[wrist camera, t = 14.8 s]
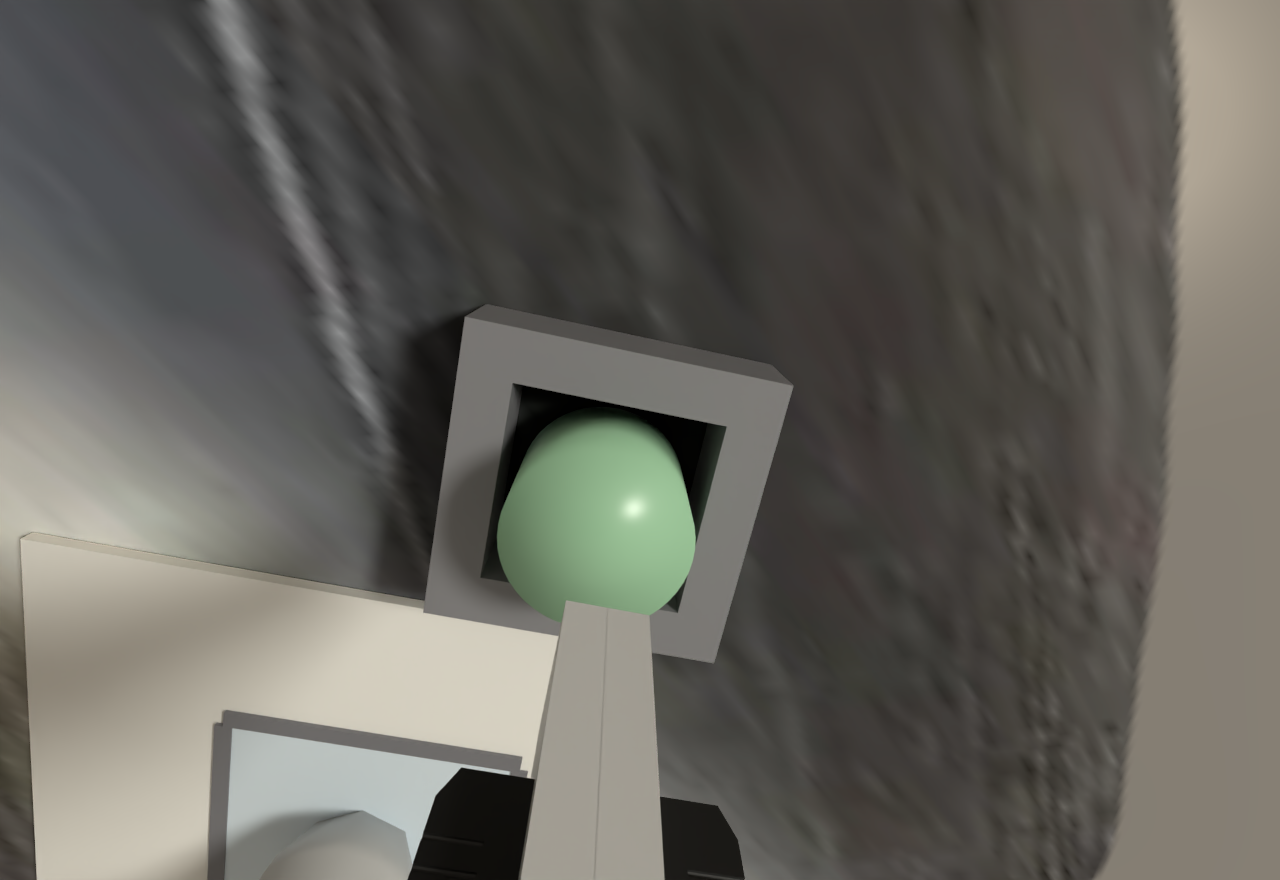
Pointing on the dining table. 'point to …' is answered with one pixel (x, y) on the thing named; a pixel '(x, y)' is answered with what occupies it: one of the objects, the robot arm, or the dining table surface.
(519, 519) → the button
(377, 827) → the salt shaker
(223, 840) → the colouring board
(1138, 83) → the dining table surface
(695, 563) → the button housing
